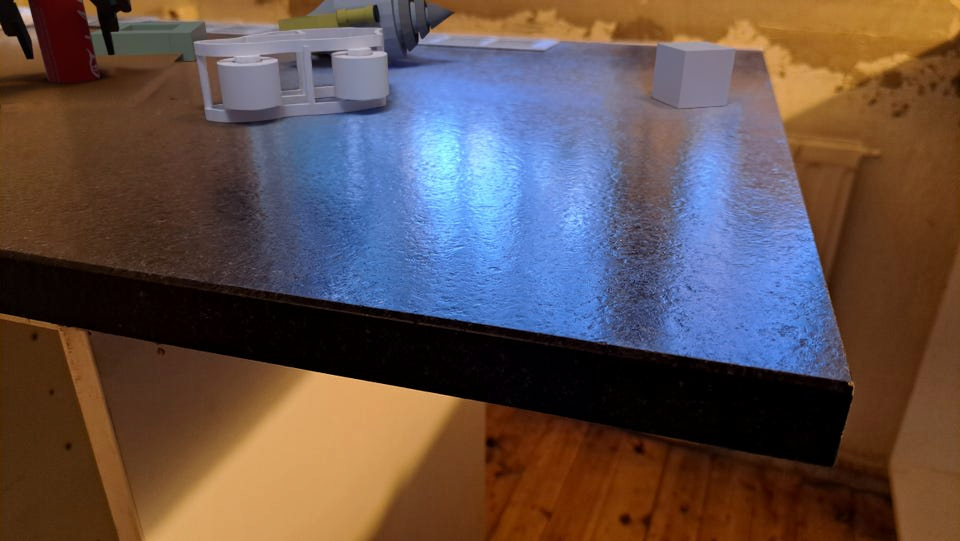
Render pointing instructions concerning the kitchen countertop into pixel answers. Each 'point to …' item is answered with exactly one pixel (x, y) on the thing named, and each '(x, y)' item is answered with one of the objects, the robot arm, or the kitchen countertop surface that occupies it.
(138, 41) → the holder
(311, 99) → the wheeled car silhouette
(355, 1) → the ray gun
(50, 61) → the soda can
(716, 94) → the gray cube
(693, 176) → the kitchen countertop surface
